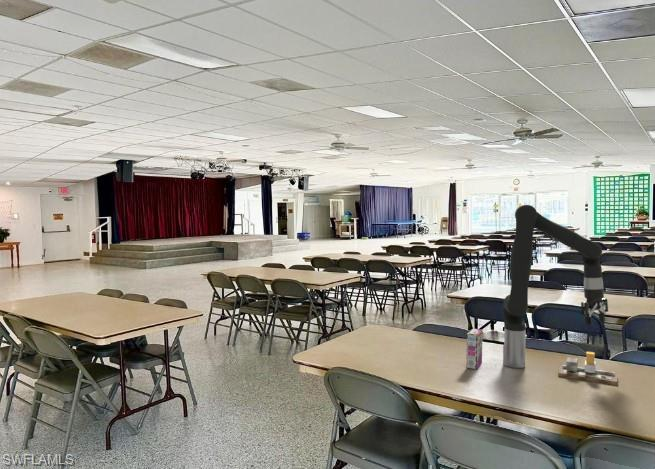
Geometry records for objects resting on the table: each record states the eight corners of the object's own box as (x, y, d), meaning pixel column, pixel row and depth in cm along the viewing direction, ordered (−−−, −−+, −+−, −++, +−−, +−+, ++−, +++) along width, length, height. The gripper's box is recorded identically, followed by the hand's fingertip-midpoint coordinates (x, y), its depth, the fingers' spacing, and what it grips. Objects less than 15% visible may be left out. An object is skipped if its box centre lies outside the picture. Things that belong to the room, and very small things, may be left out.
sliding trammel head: (584, 373, 202) (584, 354, 202) (585, 369, 208) (585, 350, 207) (595, 375, 200) (595, 355, 200) (595, 371, 206) (596, 351, 205)
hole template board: (558, 376, 206) (558, 361, 205) (560, 369, 214) (560, 355, 214) (617, 385, 195) (617, 369, 194) (616, 377, 203) (617, 363, 203)
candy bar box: (477, 370, 214) (477, 334, 213) (466, 368, 217) (466, 333, 216) (482, 363, 224) (483, 329, 223) (472, 361, 226) (472, 328, 226)
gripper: (596, 284, 215) (598, 319, 215) (574, 288, 209) (576, 324, 210) (612, 286, 208) (614, 322, 209) (590, 290, 202) (592, 327, 203)
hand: (595, 323), depth 209 cm, fingers open, 8 cm apart
